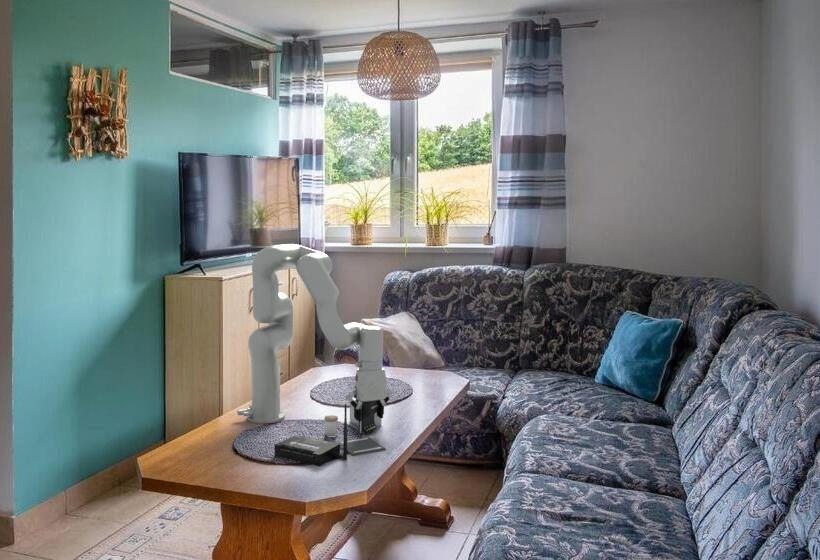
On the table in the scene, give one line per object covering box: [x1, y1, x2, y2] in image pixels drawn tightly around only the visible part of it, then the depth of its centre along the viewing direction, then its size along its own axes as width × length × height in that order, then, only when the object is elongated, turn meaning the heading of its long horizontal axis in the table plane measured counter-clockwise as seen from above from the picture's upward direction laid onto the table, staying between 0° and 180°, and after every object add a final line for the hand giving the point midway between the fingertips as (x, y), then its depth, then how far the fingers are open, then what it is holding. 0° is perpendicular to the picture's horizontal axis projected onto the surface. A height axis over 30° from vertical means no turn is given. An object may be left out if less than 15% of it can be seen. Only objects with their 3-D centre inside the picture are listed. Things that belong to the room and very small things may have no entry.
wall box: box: [349, 396, 382, 429], centre depth 240 cm, size 9×9×9 cm
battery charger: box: [358, 400, 379, 434], centre depth 230 cm, size 7×4×11 cm, turn 149°
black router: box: [274, 403, 348, 467], centre depth 208 cm, size 20×14×17 cm
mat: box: [336, 436, 387, 457], centre depth 218 cm, size 11×11×1 cm
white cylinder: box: [324, 414, 339, 436], centre depth 228 cm, size 4×4×6 cm
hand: (368, 418), depth 230 cm, fingers closed on battery charger, 7 cm apart
